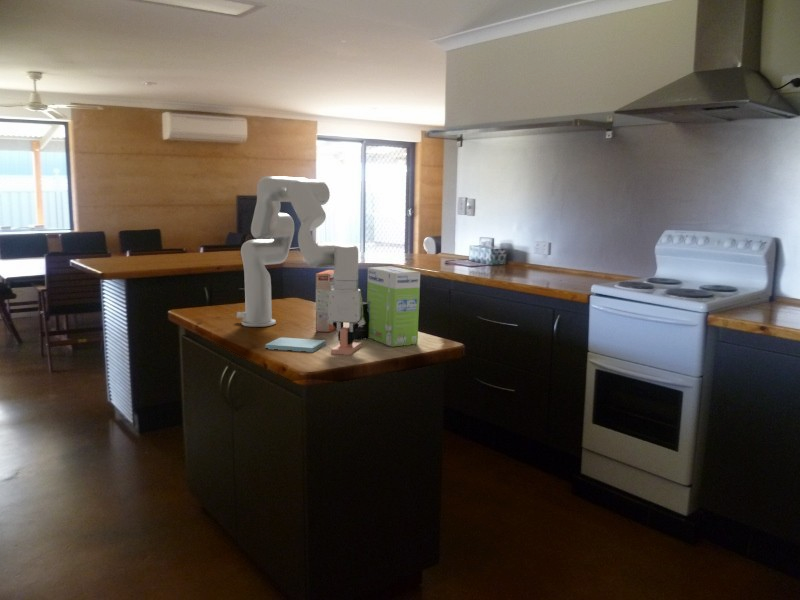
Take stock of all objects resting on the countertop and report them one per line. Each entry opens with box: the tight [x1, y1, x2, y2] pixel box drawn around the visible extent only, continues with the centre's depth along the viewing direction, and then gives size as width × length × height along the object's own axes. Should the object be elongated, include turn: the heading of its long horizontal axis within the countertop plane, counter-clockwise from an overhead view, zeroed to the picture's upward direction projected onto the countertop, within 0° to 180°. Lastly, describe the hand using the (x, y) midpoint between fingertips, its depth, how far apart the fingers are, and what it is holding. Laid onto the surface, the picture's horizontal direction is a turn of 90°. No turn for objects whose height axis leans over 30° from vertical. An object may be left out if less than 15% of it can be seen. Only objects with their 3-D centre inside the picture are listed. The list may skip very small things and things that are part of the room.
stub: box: [330, 324, 362, 356], centre depth 203 cm, size 6×11×7 cm, turn 166°
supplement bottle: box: [354, 301, 370, 340], centre depth 221 cm, size 7×7×12 cm
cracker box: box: [315, 269, 337, 333], centre depth 234 cm, size 14×6×21 cm, turn 168°
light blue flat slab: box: [264, 336, 327, 353], centre depth 207 cm, size 16×11×1 cm
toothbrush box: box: [366, 265, 421, 348], centre depth 215 cm, size 18×10×24 cm, turn 33°
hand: (346, 343), depth 203 cm, fingers closed on stub, 2 cm apart
